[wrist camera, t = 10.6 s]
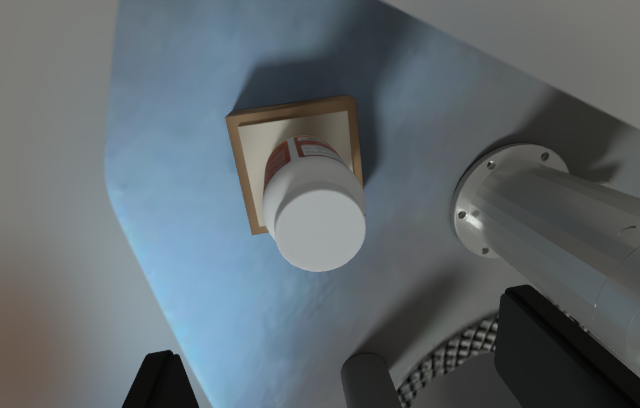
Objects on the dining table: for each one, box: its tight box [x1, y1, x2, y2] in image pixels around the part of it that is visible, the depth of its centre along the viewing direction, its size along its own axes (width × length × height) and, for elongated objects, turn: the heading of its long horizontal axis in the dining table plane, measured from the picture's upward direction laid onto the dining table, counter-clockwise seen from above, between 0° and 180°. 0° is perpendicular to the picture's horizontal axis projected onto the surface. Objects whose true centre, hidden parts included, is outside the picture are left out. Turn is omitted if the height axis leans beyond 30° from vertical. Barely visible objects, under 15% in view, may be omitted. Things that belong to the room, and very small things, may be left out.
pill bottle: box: [262, 135, 366, 272], centre depth 22 cm, size 6×6×11 cm
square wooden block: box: [225, 95, 365, 235], centre depth 29 cm, size 10×10×4 cm
